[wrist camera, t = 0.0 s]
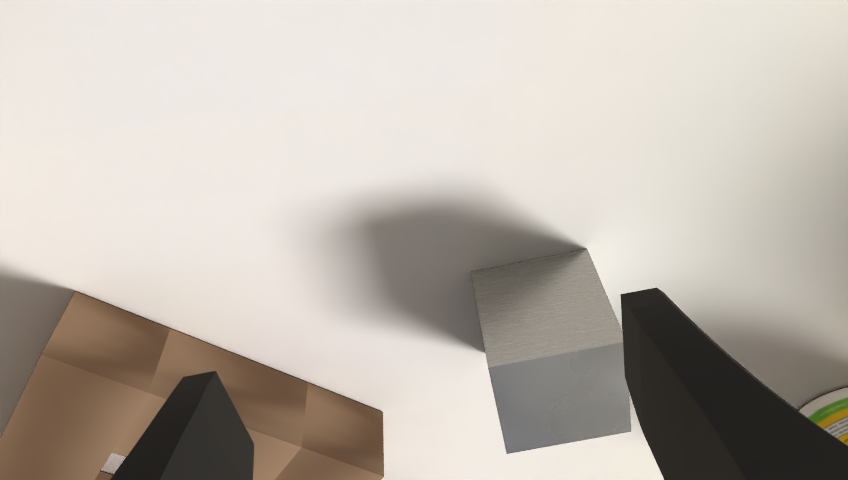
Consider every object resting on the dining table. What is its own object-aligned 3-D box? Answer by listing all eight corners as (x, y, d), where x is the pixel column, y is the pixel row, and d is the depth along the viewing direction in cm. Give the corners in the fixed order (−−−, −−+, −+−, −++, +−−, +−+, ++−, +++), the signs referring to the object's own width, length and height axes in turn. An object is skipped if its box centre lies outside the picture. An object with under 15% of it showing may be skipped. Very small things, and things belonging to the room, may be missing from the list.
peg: (594, 332, 26) (631, 431, 23) (487, 353, 27) (506, 453, 23) (586, 247, 24) (626, 341, 20) (470, 270, 24) (488, 367, 21)
